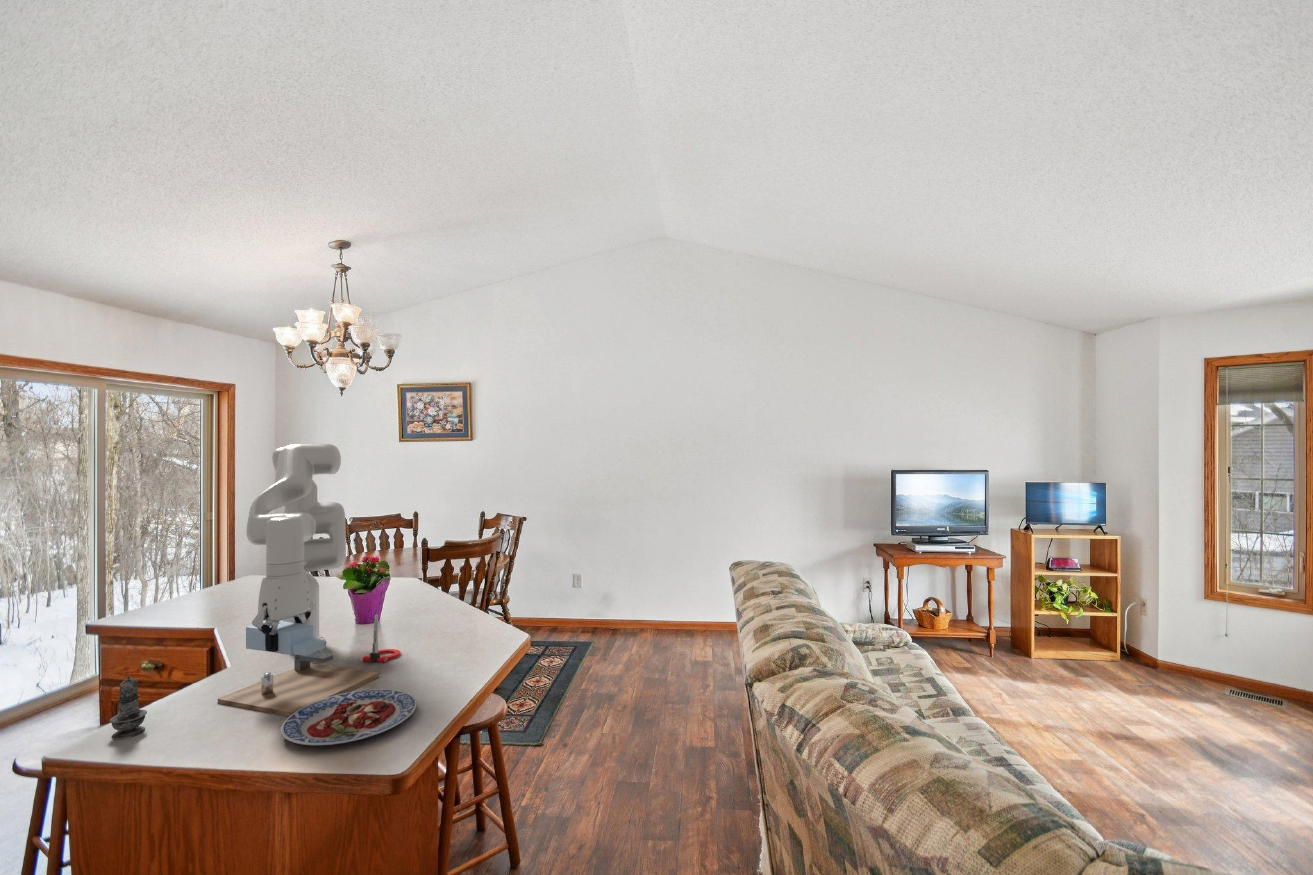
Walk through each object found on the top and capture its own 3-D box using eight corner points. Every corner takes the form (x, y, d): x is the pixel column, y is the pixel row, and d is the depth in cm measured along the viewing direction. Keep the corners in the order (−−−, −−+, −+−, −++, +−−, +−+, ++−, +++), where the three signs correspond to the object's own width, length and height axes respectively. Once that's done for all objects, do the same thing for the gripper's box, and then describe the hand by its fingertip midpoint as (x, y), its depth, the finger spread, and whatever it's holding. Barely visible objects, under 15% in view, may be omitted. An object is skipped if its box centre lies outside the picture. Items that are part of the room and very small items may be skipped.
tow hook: (379, 652, 172) (359, 662, 163) (381, 607, 173) (360, 614, 164) (406, 653, 171) (387, 663, 162) (407, 608, 171) (388, 616, 162)
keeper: (294, 670, 154) (294, 654, 154) (304, 666, 157) (304, 650, 157) (323, 675, 151) (323, 658, 151) (333, 670, 154) (333, 654, 154)
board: (217, 703, 137) (217, 698, 137) (308, 666, 160) (308, 662, 160) (294, 717, 129) (294, 712, 129) (378, 676, 152) (378, 672, 152)
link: (326, 647, 138) (326, 626, 138) (303, 656, 133) (303, 634, 133) (270, 640, 144) (270, 619, 144) (245, 648, 139) (245, 627, 139)
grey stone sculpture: (124, 727, 126) (125, 670, 126) (154, 725, 126) (154, 669, 126) (101, 740, 120) (101, 681, 120) (132, 739, 120) (132, 680, 121)
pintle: (258, 694, 140) (258, 674, 140) (268, 690, 142) (268, 670, 142) (266, 695, 139) (266, 675, 139) (275, 691, 141) (275, 672, 141)
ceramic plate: (328, 697, 140) (328, 685, 140) (435, 698, 139) (435, 685, 139) (249, 754, 114) (249, 739, 114) (380, 755, 114) (380, 739, 114)
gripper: (305, 561, 148) (305, 633, 148) (237, 576, 132) (237, 657, 132) (328, 563, 146) (328, 636, 146) (261, 578, 130) (261, 660, 129)
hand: (285, 645), depth 139 cm, fingers closed on link, 6 cm apart
